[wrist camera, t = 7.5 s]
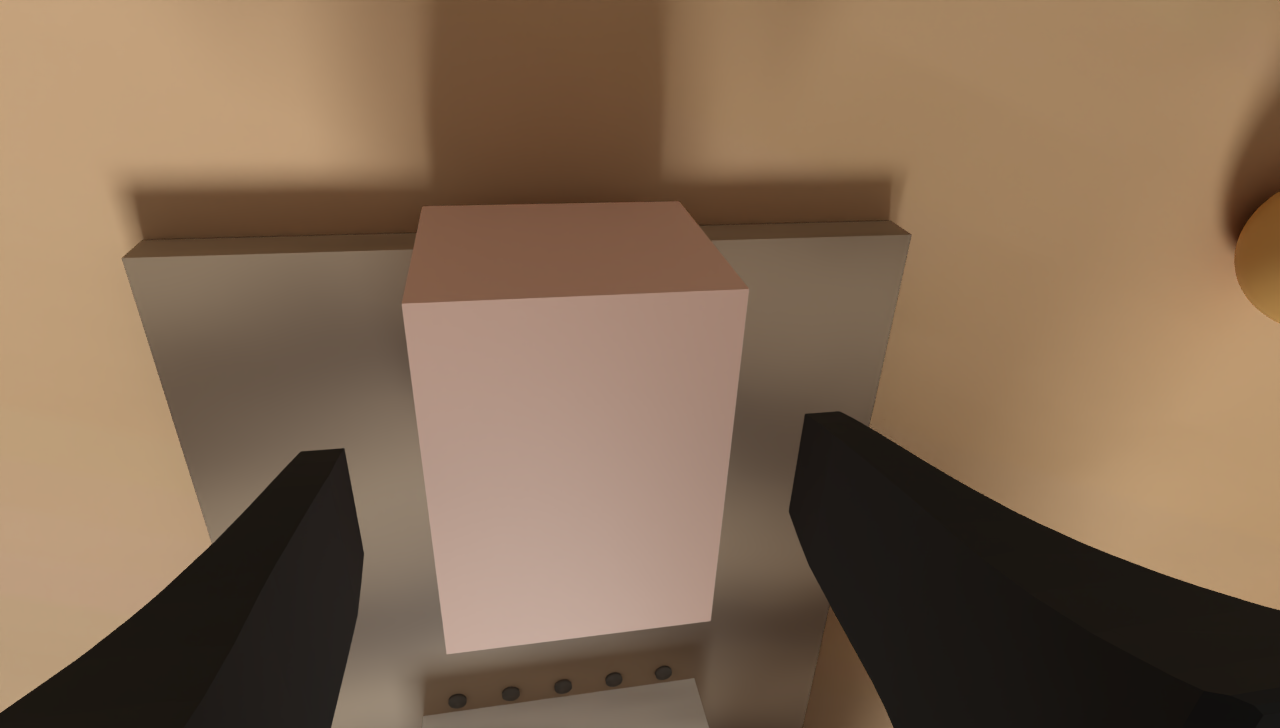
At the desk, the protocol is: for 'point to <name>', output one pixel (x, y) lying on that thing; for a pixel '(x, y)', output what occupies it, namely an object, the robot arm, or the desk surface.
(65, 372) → the desk surface
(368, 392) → the ticket board
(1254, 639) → the robot arm
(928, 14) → the desk surface
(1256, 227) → the figurine
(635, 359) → the tall pink cuboid
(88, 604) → the desk surface
